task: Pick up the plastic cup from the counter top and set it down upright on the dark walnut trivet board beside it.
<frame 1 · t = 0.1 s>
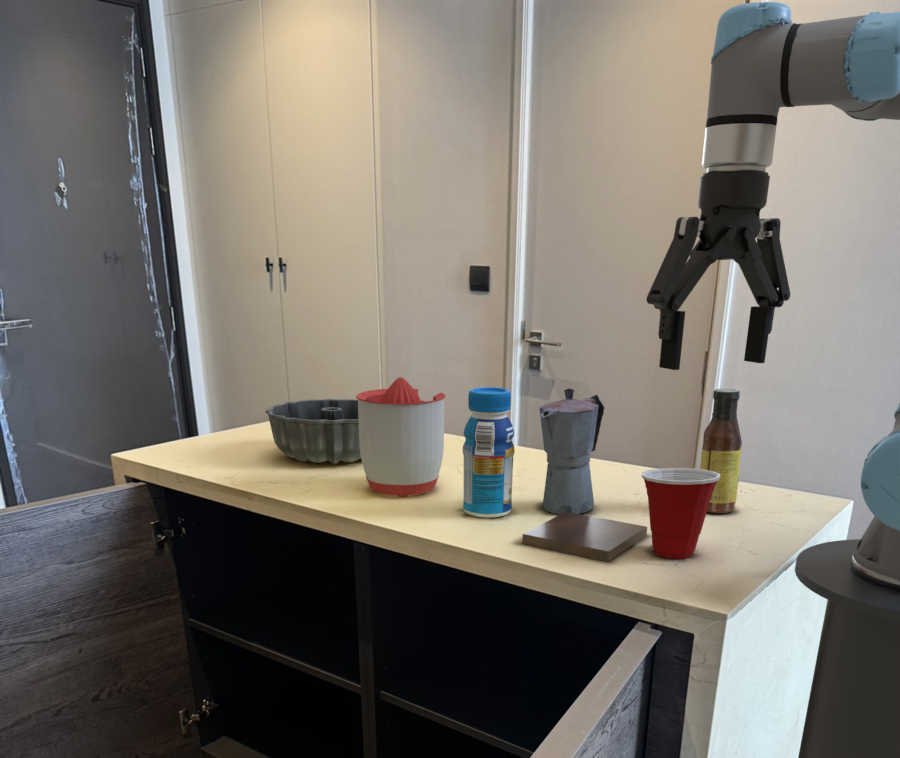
hand: (712, 365, 105), 28 cm above the table, tool pointing down, fingers open, 13 cm apart
bundt pan: (333, 456, 181), on the table
moka pot: (568, 508, 147), on the table
sauce bottle: (714, 510, 146), on the table
plastic cup: (672, 553, 126), on the table
citrus juicer: (406, 489, 158), on the table
trivet board: (585, 539, 131), on the table
beverage bottle: (487, 512, 144), on the table
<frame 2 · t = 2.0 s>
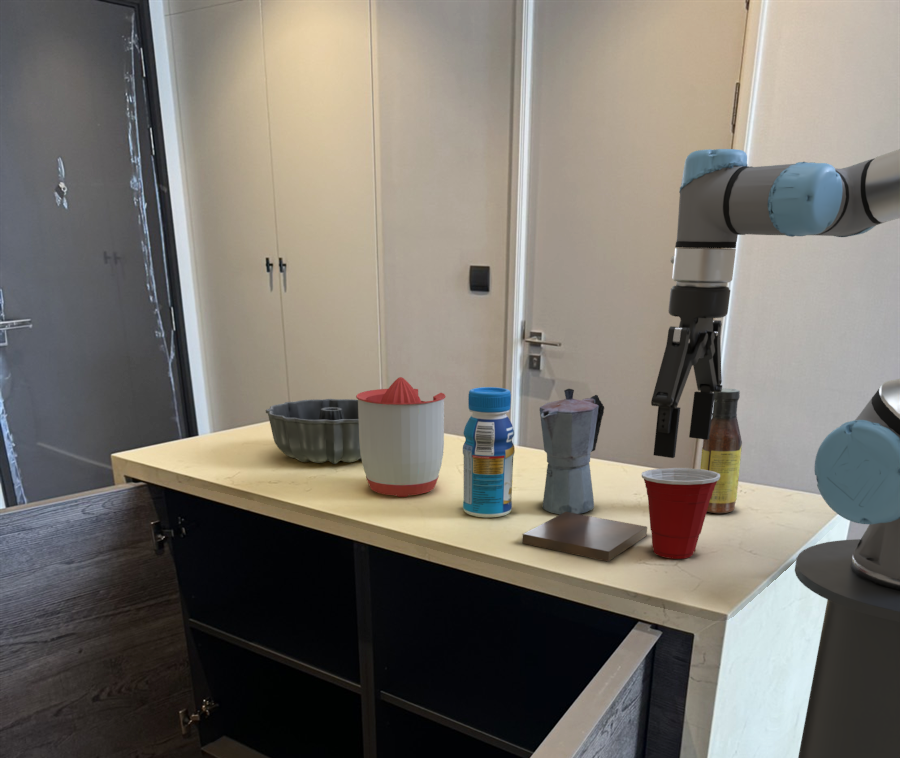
hand: (682, 447, 120), 15 cm above the table, tool pointing down, fingers open, 13 cm apart
nothing on the table moved.
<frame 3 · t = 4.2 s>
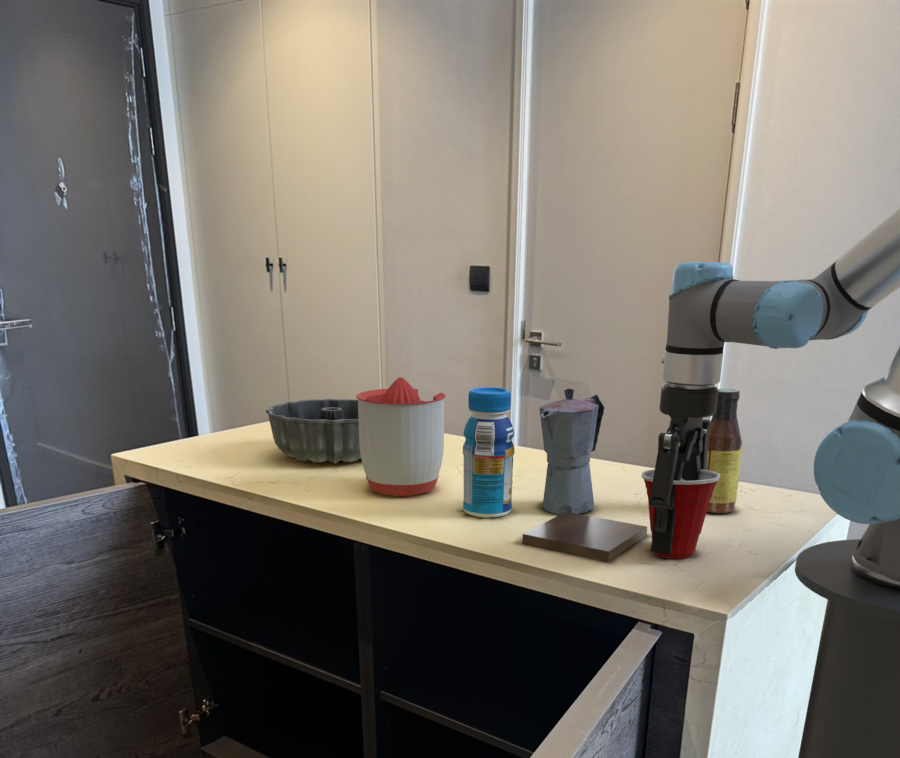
hand: (673, 543, 125), 1 cm above the table, tool pointing down, fingers closed on plastic cup, 9 cm apart
plastic cup: (672, 553, 126), on the table, touching gripper
everything else where it was.
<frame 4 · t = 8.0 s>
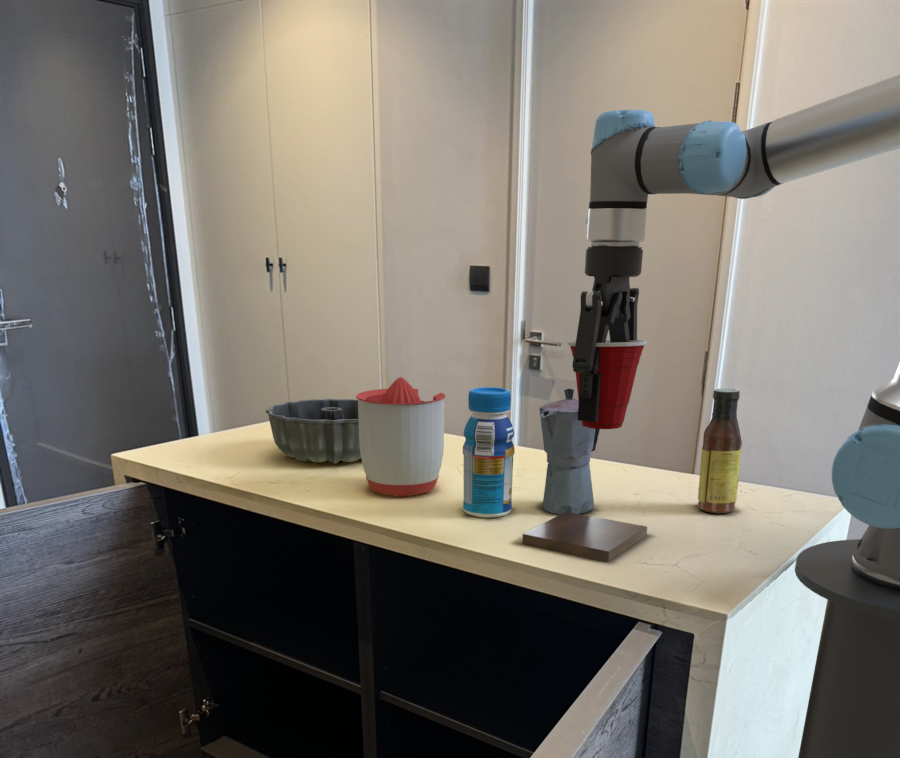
hand: (601, 415, 123), 19 cm above the table, tool pointing down, fingers closed on plastic cup, 9 cm apart
plastic cup: (601, 426, 124), point 17 cm above the table, touching gripper
everything else where it was.
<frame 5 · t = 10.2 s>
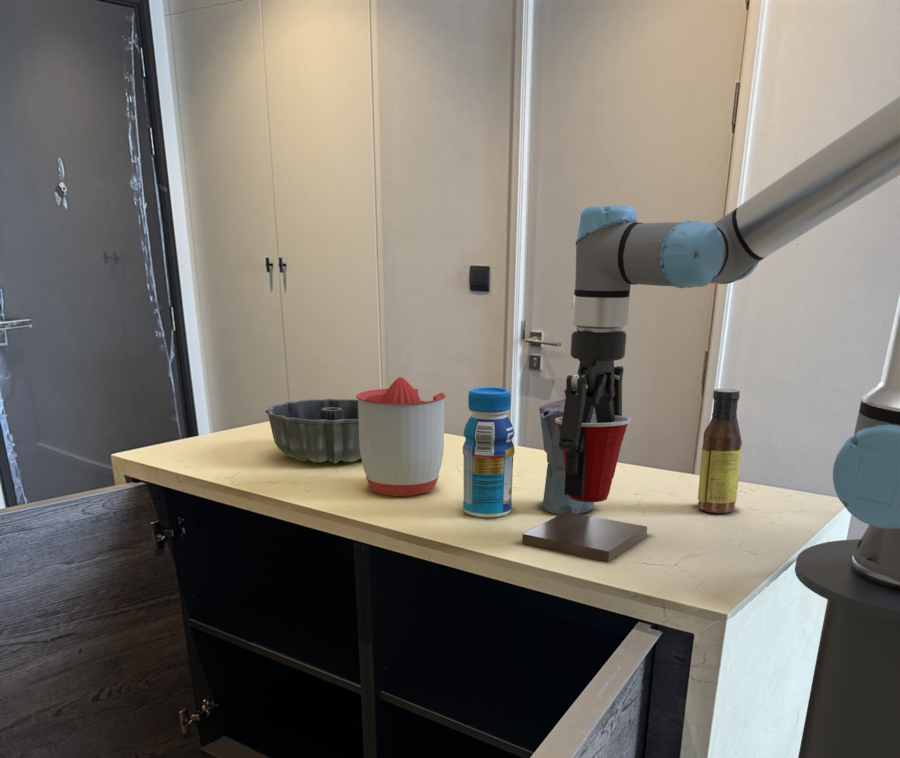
hand: (588, 487, 128), 8 cm above the table, tool pointing down, fingers closed on plastic cup, 9 cm apart
plastic cup: (587, 498, 128), point 6 cm above the table, touching gripper
everything else where it was.
when the fingers open (3 cm above the table, at t = 11.9 s): plastic cup stays where it is, resting on trivet board.
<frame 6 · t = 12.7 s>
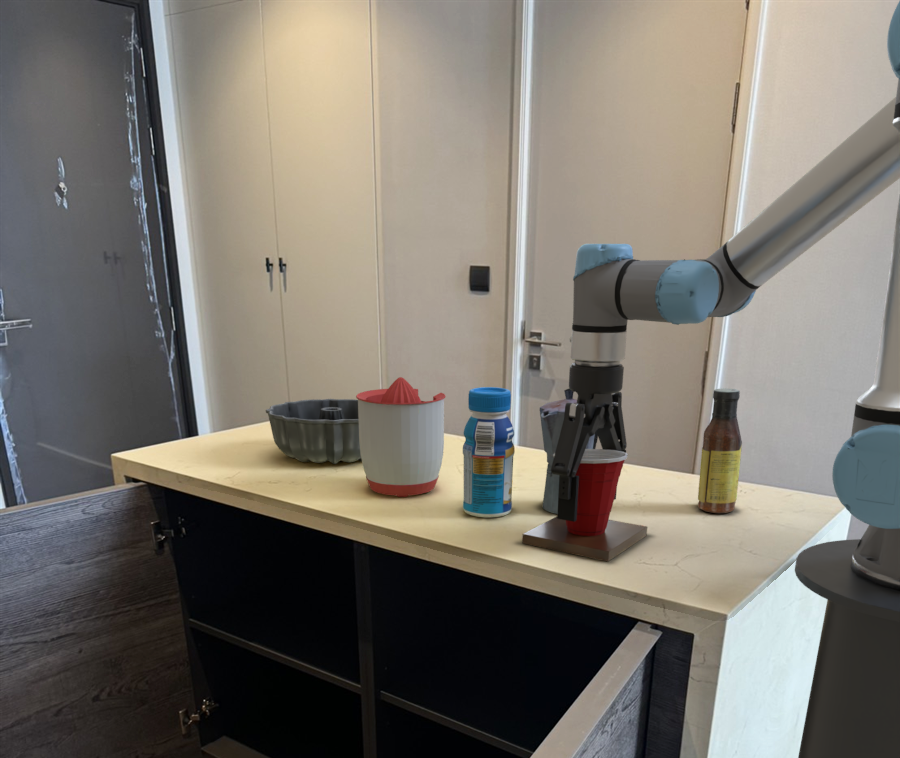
hand: (587, 508, 129), 5 cm above the table, tool pointing down, fingers open, 13 cm apart
plastic cup: (585, 531, 130), point 1 cm above the table, touching trivet board
everything else where it was.
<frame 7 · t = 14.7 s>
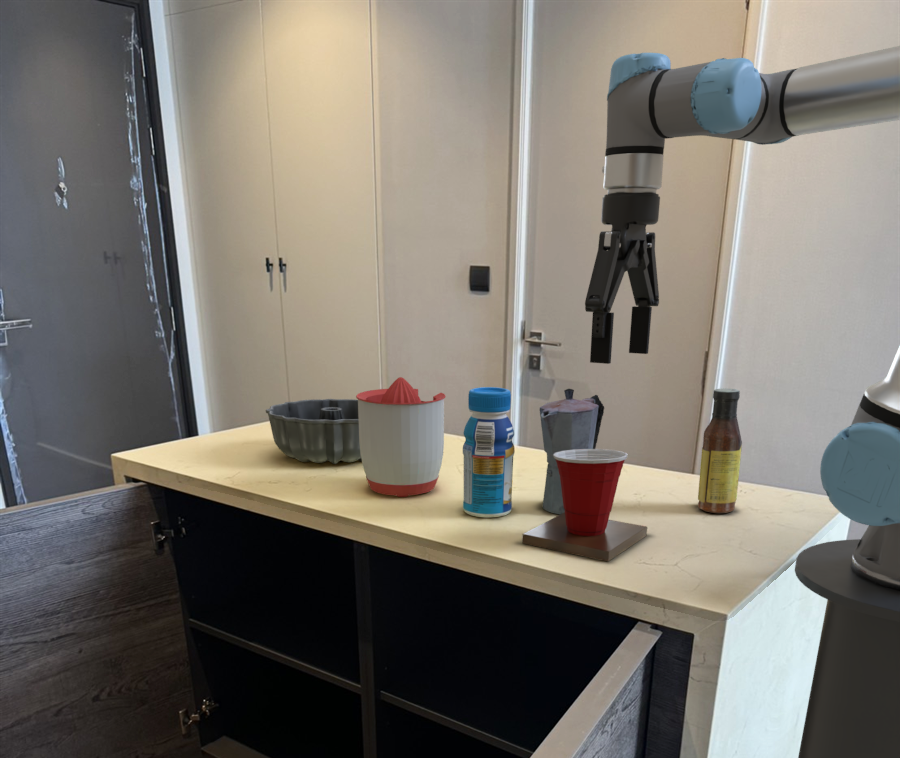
hand: (620, 358, 122), 27 cm above the table, tool pointing down, fingers open, 13 cm apart
nothing on the table moved.
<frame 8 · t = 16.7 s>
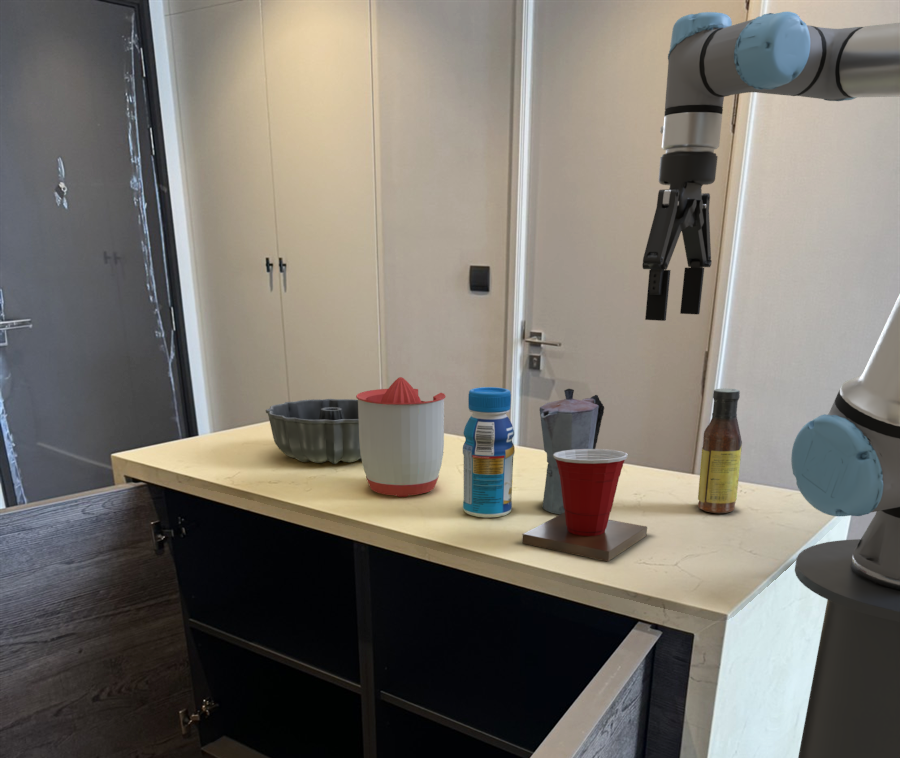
hand: (673, 317, 125), 32 cm above the table, tool pointing down, fingers open, 13 cm apart
nothing on the table moved.
at the end: plastic cup inside the target area on the trivet board (0.1 cm from its centre), point 1.3 cm above the trivet board's base; plastic cup tilted 0°; the gripper is holding nothing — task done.
